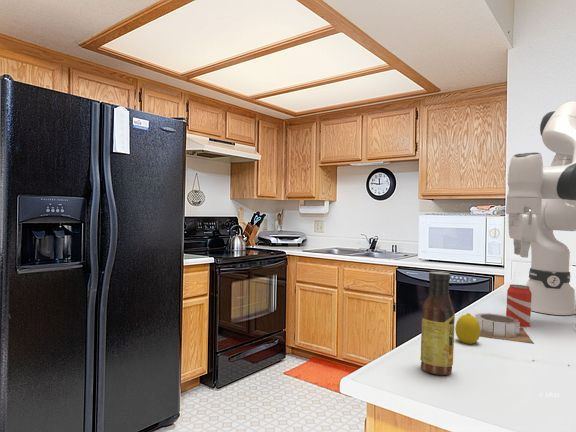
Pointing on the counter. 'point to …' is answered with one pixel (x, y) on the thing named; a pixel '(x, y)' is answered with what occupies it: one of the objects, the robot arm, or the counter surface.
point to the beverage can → (519, 304)
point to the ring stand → (521, 338)
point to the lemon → (467, 329)
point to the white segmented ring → (498, 325)
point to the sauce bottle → (438, 327)
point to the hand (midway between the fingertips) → (520, 255)
